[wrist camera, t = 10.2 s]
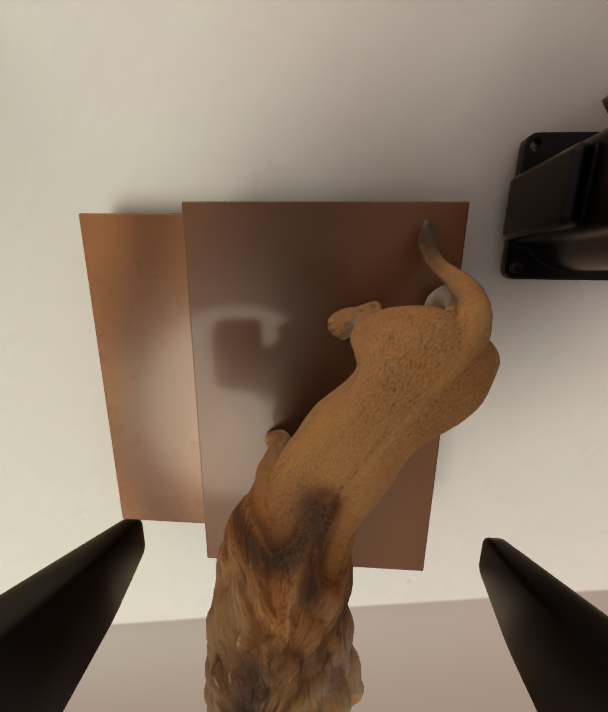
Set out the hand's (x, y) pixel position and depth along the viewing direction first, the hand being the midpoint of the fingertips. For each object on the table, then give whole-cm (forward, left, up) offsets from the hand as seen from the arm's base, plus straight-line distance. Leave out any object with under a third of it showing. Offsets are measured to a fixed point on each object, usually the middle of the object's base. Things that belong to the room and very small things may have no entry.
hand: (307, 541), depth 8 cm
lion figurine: (-1, -1, -6) cm, 7 cm away
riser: (+3, -1, -11) cm, 11 cm away
